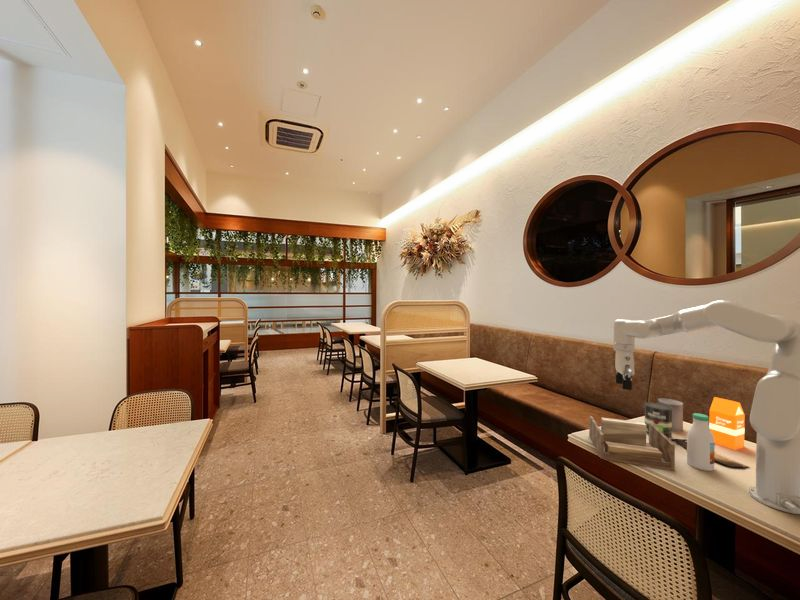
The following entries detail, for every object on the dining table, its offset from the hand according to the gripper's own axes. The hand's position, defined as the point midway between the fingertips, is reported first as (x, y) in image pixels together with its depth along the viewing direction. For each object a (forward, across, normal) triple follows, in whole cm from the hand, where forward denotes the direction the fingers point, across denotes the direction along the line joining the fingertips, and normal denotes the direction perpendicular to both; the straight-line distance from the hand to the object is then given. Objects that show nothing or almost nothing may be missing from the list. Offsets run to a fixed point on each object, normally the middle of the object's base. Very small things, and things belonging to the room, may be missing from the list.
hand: (623, 386), depth 138 cm
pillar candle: (+27, +31, -28) cm, 49 cm away
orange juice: (+26, +19, -44) cm, 55 cm away
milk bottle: (+26, -9, -23) cm, 36 cm away
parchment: (+26, +7, -35) cm, 44 cm away
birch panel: (+25, 0, 0) cm, 25 cm away
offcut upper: (+23, -13, 0) cm, 26 cm away
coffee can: (+26, +19, -19) cm, 38 cm away
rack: (+26, -6, 0) cm, 27 cm away
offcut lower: (+25, -12, 0) cm, 28 cm away
